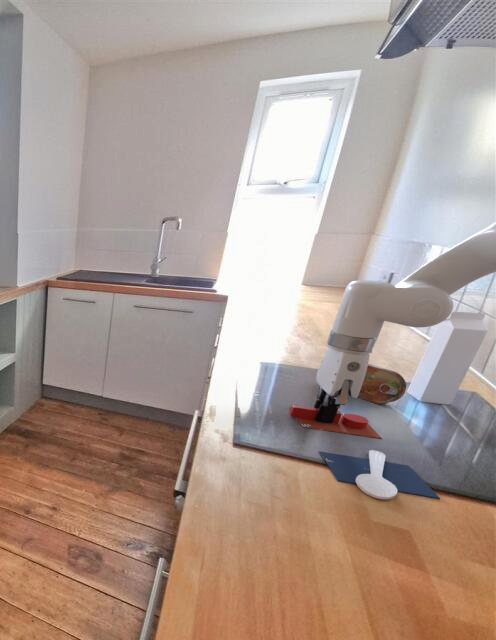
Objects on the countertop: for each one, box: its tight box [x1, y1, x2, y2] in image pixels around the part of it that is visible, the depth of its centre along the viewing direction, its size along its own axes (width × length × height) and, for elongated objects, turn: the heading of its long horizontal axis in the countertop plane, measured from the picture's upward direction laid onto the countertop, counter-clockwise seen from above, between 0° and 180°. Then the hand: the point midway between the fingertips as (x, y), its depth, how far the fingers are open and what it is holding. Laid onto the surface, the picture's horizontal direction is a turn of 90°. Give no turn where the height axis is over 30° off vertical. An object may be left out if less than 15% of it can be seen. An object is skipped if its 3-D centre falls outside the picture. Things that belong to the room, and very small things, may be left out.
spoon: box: [355, 449, 398, 500], centre depth 74 cm, size 5×18×1 cm, turn 138°
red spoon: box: [288, 404, 370, 429], centre depth 92 cm, size 14×4×2 cm, turn 69°
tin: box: [357, 363, 407, 405], centre depth 103 cm, size 15×3×8 cm, turn 17°
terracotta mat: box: [289, 406, 382, 440], centre depth 93 cm, size 14×10×1 cm
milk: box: [406, 311, 489, 406], centre depth 99 cm, size 6×6×22 cm
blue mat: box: [318, 450, 441, 500], centre depth 75 cm, size 14×10×1 cm
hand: (321, 418), depth 93 cm, fingers closed on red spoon, 1 cm apart
